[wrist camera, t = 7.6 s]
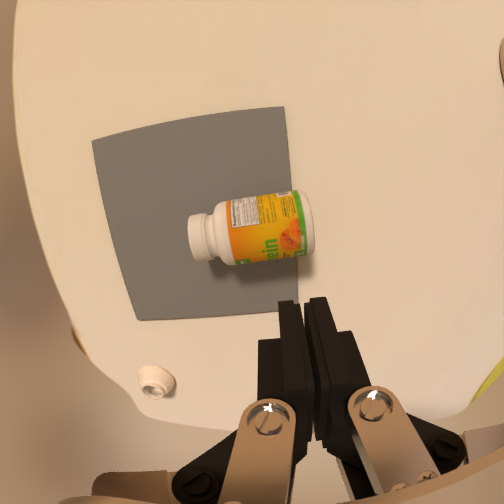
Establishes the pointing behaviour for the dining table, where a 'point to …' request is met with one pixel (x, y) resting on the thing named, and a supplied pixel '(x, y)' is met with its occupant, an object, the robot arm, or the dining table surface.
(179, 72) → the dining table surface
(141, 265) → the felt mat
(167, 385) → the lidless jar
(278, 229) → the supplement bottle
